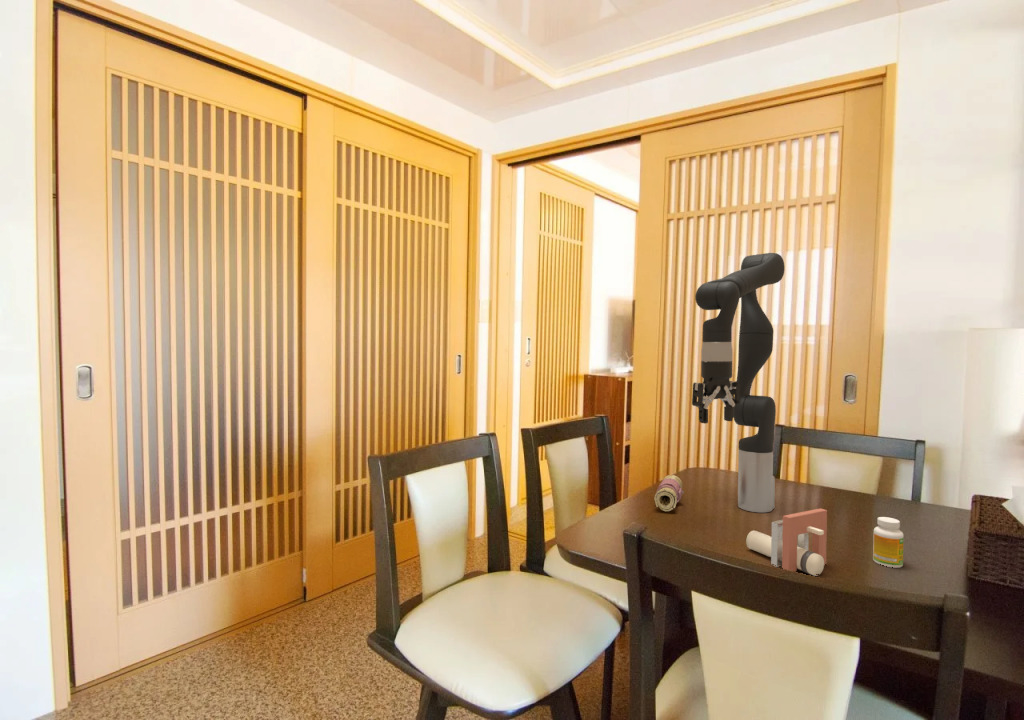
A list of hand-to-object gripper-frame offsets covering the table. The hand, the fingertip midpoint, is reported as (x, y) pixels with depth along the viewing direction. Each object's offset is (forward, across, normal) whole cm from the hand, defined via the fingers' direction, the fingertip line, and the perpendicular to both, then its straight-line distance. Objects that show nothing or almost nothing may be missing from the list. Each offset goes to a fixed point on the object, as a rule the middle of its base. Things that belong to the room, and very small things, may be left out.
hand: (716, 422), depth 136 cm
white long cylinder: (+28, +1, +22) cm, 35 cm away
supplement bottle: (+28, -18, +32) cm, 46 cm away
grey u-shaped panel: (+28, +1, +22) cm, 36 cm away
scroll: (+28, -4, -22) cm, 36 cm away
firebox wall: (+28, +1, +27) cm, 39 cm away
